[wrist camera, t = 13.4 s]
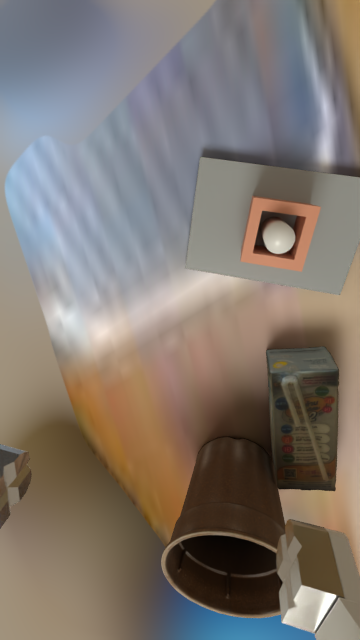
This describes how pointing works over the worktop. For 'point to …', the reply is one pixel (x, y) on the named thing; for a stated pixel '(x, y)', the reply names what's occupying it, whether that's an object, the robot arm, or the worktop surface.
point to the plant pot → (229, 532)
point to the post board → (275, 184)
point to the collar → (302, 230)
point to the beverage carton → (303, 417)
